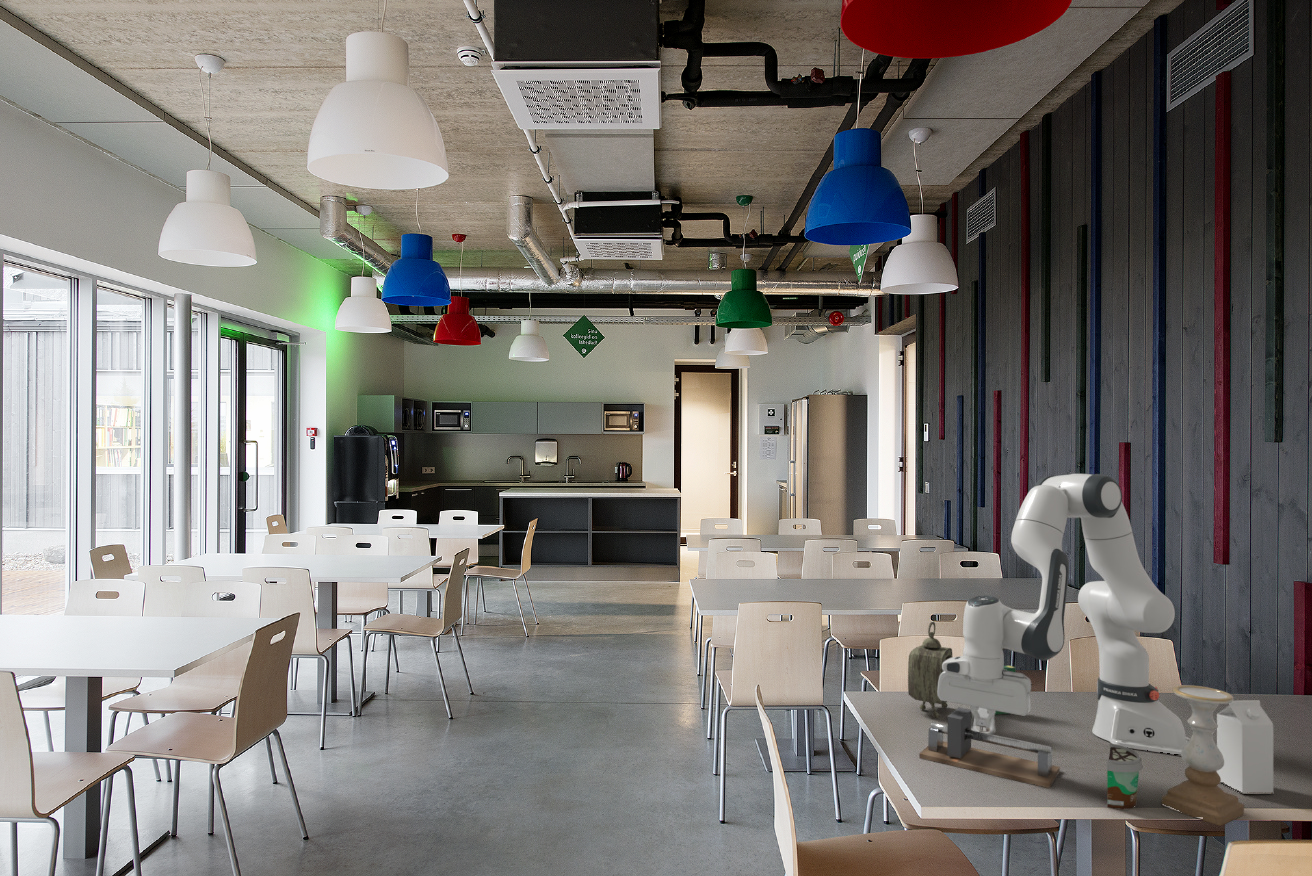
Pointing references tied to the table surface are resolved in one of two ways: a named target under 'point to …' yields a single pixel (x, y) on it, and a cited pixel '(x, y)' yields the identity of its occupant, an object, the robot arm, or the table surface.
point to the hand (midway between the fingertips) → (982, 726)
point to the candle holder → (1203, 762)
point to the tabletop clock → (927, 671)
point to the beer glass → (990, 730)
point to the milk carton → (1246, 746)
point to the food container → (1122, 777)
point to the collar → (958, 732)
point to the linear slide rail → (1043, 751)
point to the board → (994, 765)
